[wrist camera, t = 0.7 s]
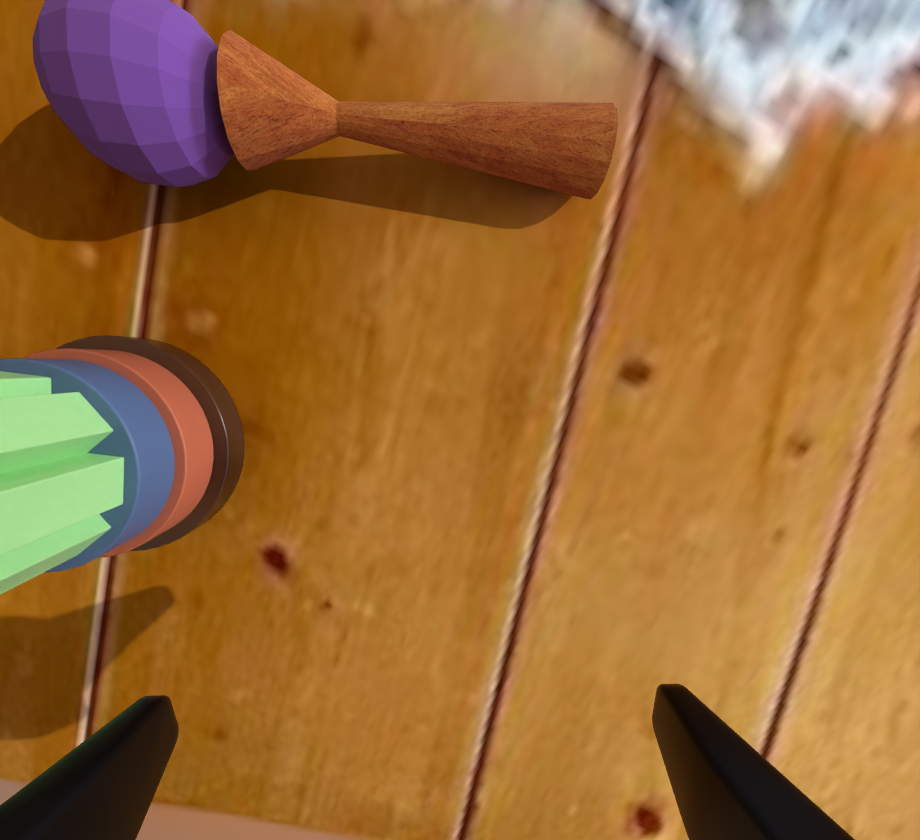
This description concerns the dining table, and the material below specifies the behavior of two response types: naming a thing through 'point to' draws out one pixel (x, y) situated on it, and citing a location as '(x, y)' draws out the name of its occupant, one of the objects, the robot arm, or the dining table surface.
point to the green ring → (50, 477)
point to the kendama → (275, 106)
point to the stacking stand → (150, 435)
